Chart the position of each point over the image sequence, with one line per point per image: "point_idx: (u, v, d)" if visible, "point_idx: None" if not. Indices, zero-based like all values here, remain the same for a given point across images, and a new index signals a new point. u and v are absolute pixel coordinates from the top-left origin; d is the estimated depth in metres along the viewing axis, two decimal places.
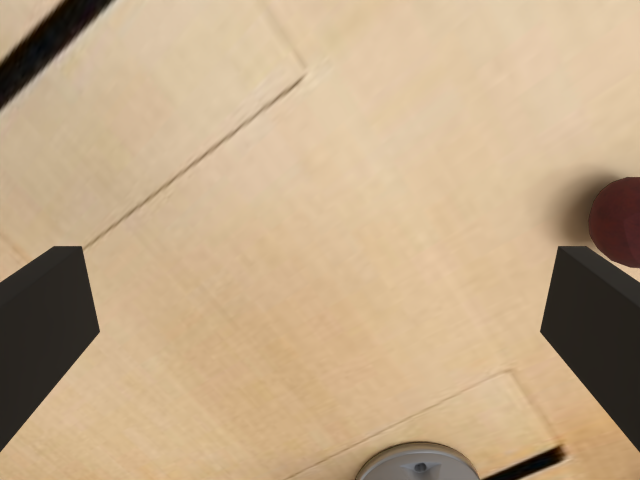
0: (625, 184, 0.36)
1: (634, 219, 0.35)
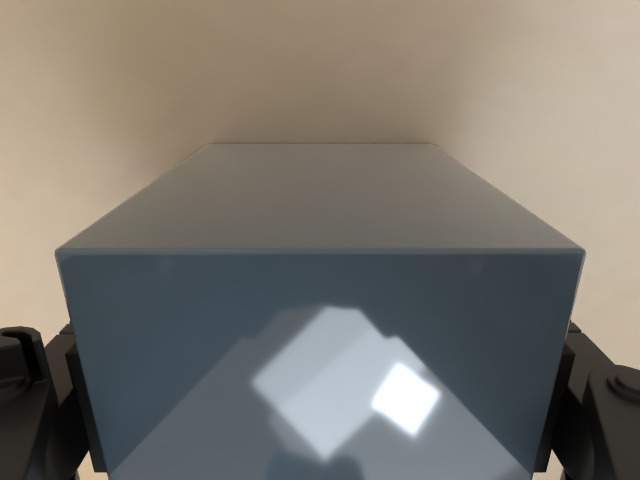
0: None
1: None
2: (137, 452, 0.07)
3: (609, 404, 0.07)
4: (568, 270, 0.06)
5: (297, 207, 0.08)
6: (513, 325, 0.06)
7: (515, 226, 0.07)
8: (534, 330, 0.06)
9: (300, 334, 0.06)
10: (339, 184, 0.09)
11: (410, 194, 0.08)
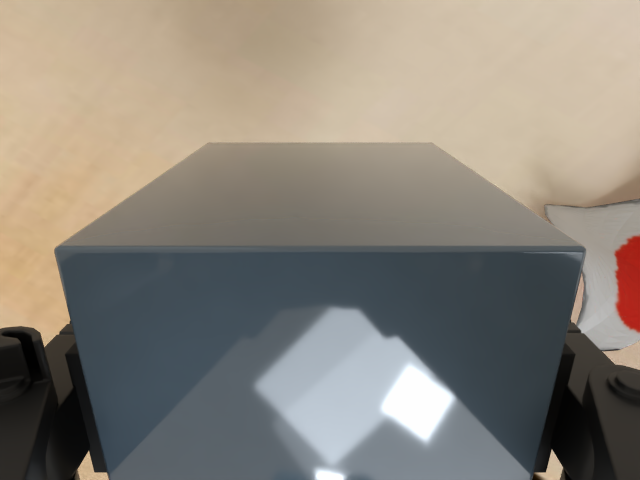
0: None
1: None
2: (137, 450, 0.07)
3: (609, 404, 0.07)
4: (568, 267, 0.06)
5: (298, 206, 0.08)
6: (513, 323, 0.06)
7: (515, 224, 0.07)
8: (534, 328, 0.06)
9: (300, 332, 0.06)
10: (339, 183, 0.09)
11: (410, 192, 0.08)
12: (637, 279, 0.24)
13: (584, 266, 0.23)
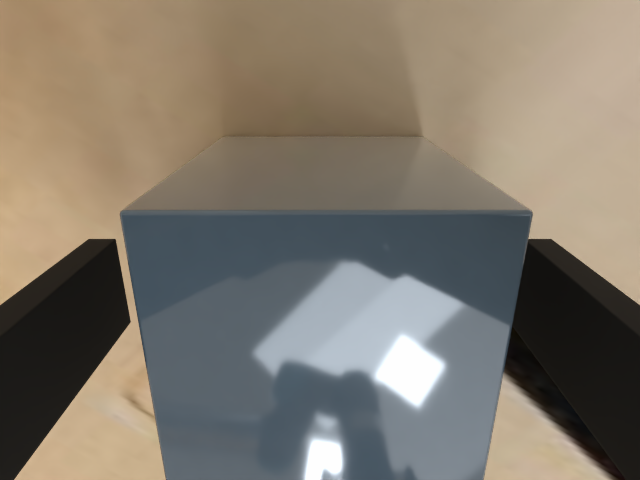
0: None
1: None
2: (177, 380, 0.09)
3: None
4: (519, 227, 0.08)
5: (307, 184, 0.09)
6: (478, 272, 0.08)
7: (481, 196, 0.08)
8: (494, 277, 0.08)
9: (310, 280, 0.08)
10: (340, 167, 0.11)
11: (399, 174, 0.10)
12: None
13: None
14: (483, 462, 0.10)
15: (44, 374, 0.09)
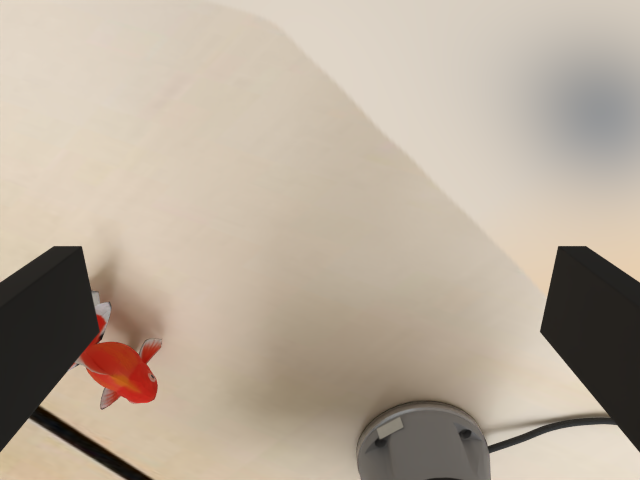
0: None
1: None
2: None
3: None
4: None
5: None
6: None
7: None
8: None
9: None
10: None
11: None
12: None
13: None
14: None
15: None
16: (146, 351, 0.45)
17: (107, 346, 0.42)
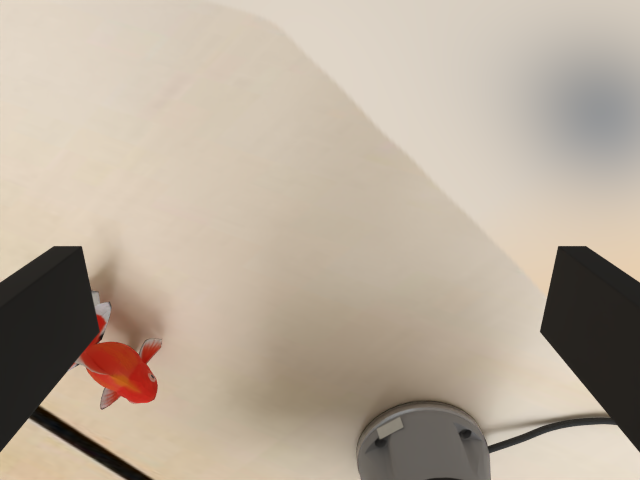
0: None
1: None
2: None
3: None
4: None
5: None
6: None
7: None
8: None
9: None
10: None
11: None
12: None
13: None
14: None
15: None
16: (146, 351, 0.45)
17: (107, 346, 0.42)
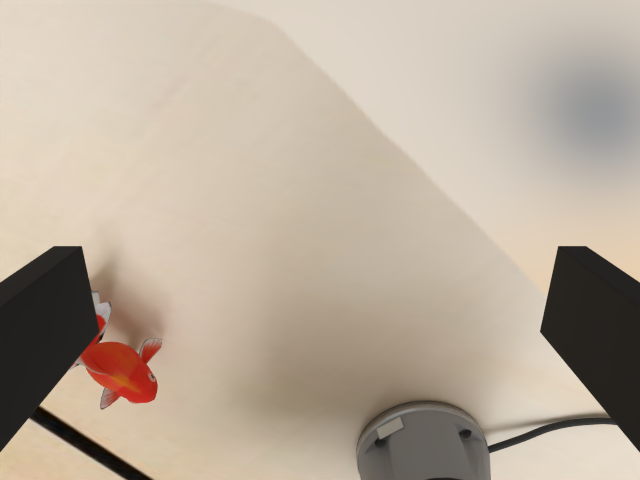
0: None
1: None
2: None
3: None
4: None
5: None
6: None
7: None
8: None
9: None
10: None
11: None
12: None
13: None
14: None
15: None
16: (146, 351, 0.45)
17: (107, 346, 0.42)
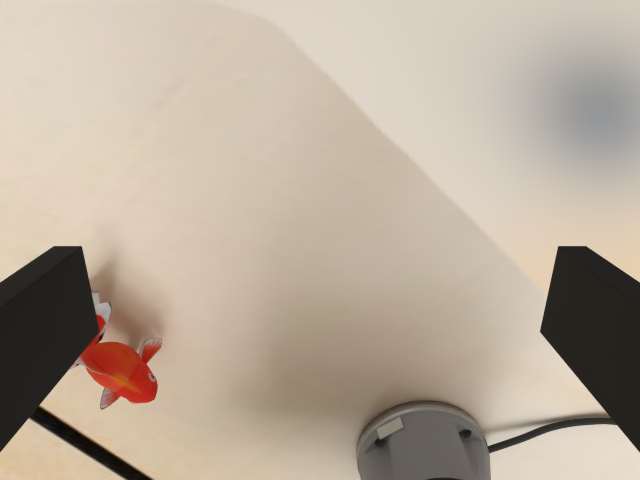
0: None
1: None
2: None
3: None
4: None
5: None
6: None
7: None
8: None
9: None
10: None
11: None
12: None
13: None
14: None
15: None
16: (146, 351, 0.45)
17: (107, 346, 0.42)
